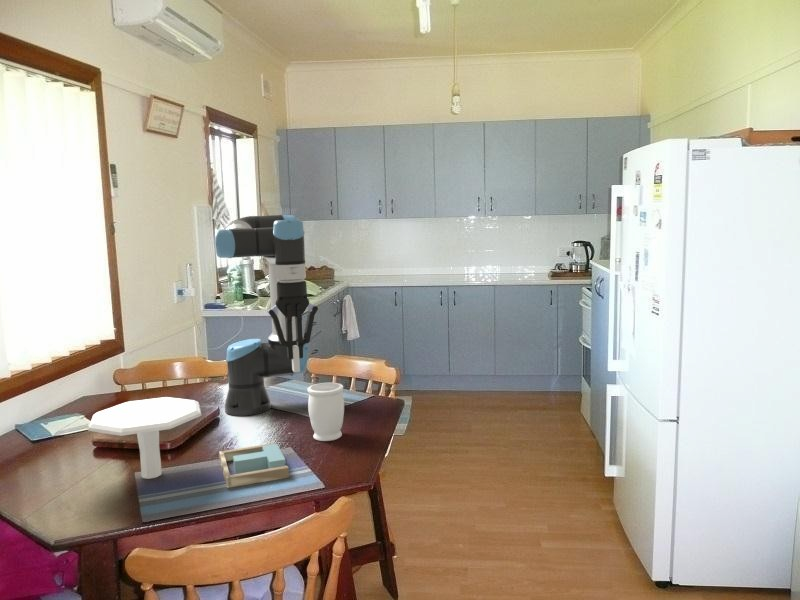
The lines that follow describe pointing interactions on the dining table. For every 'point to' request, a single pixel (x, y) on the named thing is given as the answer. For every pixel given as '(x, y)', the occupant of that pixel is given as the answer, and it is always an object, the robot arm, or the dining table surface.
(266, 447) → the t block
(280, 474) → the dock
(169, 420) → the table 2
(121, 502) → the dining table surface
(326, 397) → the jar
